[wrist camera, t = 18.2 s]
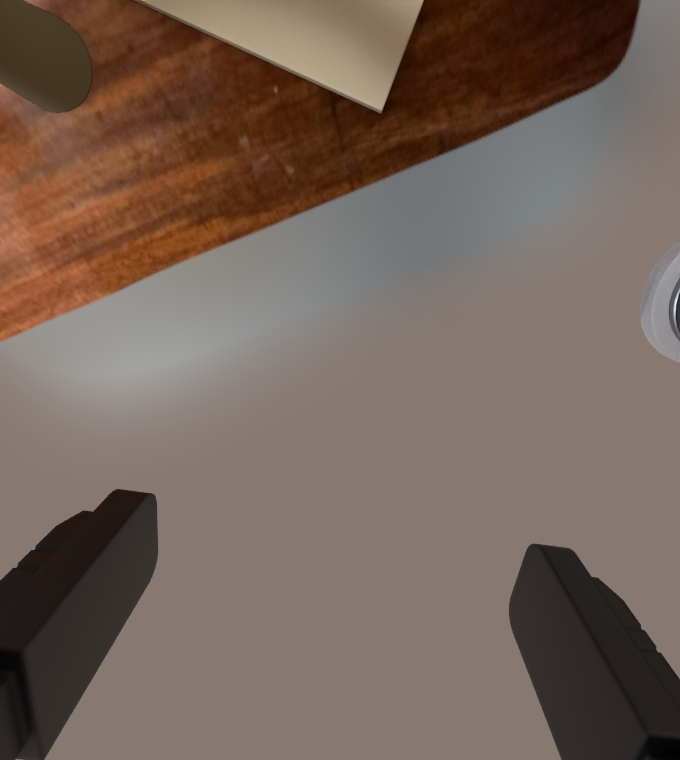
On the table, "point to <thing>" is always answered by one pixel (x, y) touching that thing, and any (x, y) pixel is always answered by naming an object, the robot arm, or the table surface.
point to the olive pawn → (42, 57)
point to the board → (312, 37)
